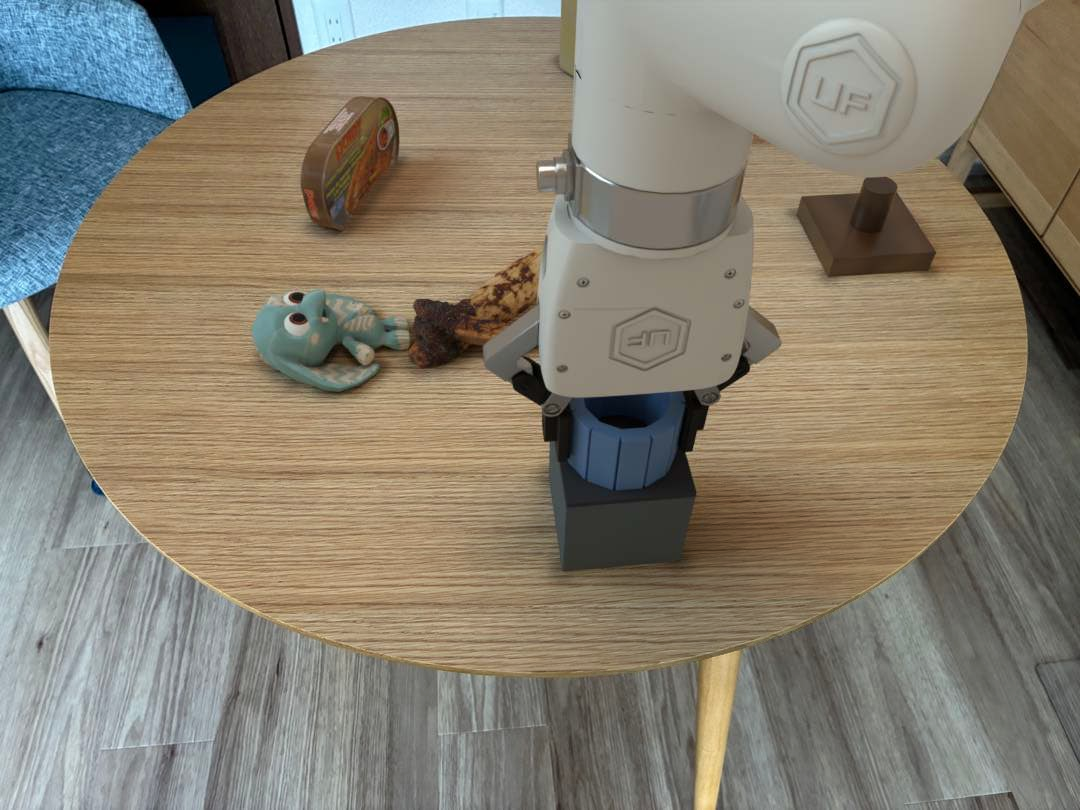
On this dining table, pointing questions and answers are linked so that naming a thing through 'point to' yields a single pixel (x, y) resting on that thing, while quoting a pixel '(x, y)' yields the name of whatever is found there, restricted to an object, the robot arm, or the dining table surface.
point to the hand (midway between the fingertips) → (620, 436)
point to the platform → (865, 231)
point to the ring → (626, 438)
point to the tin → (349, 159)
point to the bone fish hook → (474, 313)
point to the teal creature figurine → (323, 337)
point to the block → (620, 514)
